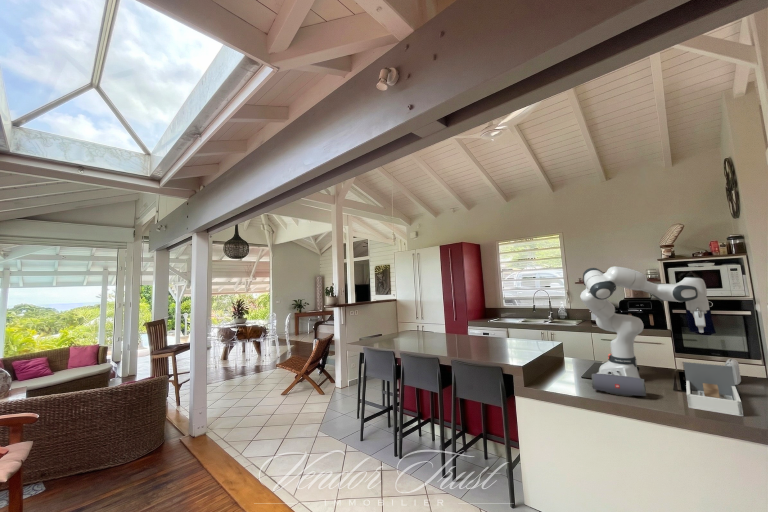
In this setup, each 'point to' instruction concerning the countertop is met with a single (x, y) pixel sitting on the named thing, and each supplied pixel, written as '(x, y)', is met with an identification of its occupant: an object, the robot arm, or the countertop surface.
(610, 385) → the bluetooth speaker
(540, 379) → the countertop surface
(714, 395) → the brown wooden block
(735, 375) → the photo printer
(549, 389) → the countertop surface
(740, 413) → the white open box
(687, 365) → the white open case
